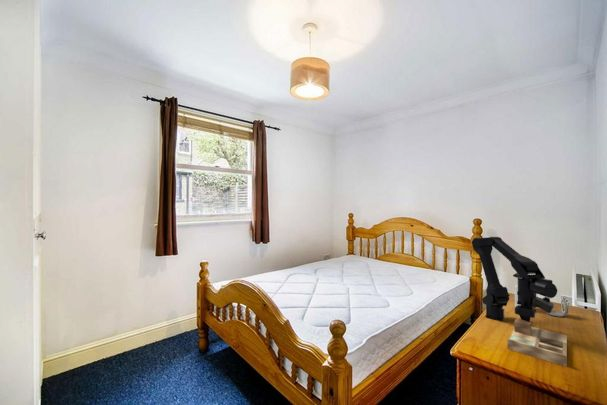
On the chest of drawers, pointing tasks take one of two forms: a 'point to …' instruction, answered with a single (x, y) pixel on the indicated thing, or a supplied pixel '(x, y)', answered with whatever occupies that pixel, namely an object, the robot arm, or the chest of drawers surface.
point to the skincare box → (516, 295)
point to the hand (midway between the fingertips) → (526, 326)
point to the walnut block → (522, 327)
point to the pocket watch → (563, 308)
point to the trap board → (541, 345)
